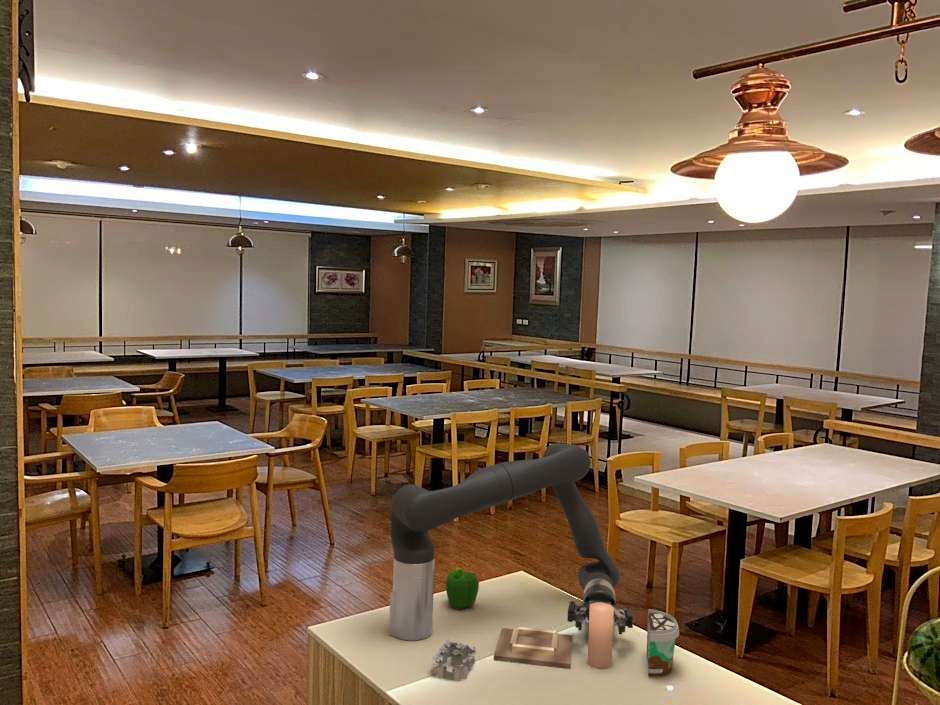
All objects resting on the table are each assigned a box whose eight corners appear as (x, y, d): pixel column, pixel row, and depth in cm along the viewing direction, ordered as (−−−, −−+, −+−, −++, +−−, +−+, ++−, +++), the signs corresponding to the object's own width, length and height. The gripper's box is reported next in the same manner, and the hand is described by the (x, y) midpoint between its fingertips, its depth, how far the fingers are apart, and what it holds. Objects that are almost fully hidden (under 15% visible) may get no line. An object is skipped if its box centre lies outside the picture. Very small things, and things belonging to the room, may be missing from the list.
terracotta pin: (587, 667, 152) (589, 610, 151) (587, 656, 157) (589, 601, 156) (611, 669, 151) (614, 613, 150) (611, 658, 156) (613, 603, 155)
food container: (679, 683, 146) (682, 635, 145) (648, 679, 147) (650, 631, 147) (675, 656, 158) (677, 611, 158) (646, 652, 159) (648, 608, 159)
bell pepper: (466, 596, 188) (468, 558, 187) (483, 608, 181) (484, 568, 180) (438, 602, 183) (439, 563, 183) (454, 614, 176) (455, 573, 176)
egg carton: (464, 684, 143) (464, 664, 143) (428, 677, 146) (428, 657, 145) (479, 660, 154) (480, 641, 153) (445, 654, 156) (446, 635, 156)
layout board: (493, 660, 153) (494, 648, 153) (501, 632, 167) (502, 621, 167) (570, 668, 151) (570, 656, 151) (572, 639, 165) (572, 628, 164)
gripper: (569, 581, 173) (567, 607, 157) (631, 586, 170) (635, 614, 154) (568, 612, 173) (566, 641, 157) (629, 618, 171) (633, 648, 155)
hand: (600, 627), depth 156 cm, fingers open, 8 cm apart
